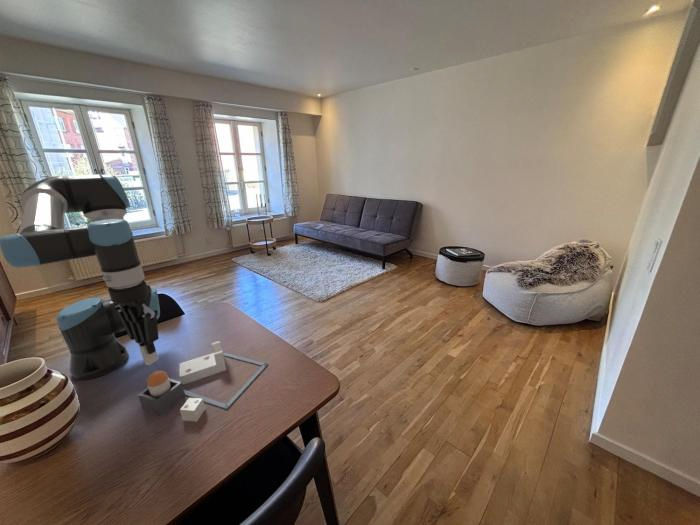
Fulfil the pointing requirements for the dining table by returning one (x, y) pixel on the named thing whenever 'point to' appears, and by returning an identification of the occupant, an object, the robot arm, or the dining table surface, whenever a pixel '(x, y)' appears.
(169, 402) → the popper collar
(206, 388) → the dining table surface
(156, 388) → the orange and white capsule
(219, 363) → the bracket
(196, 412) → the die
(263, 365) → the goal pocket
